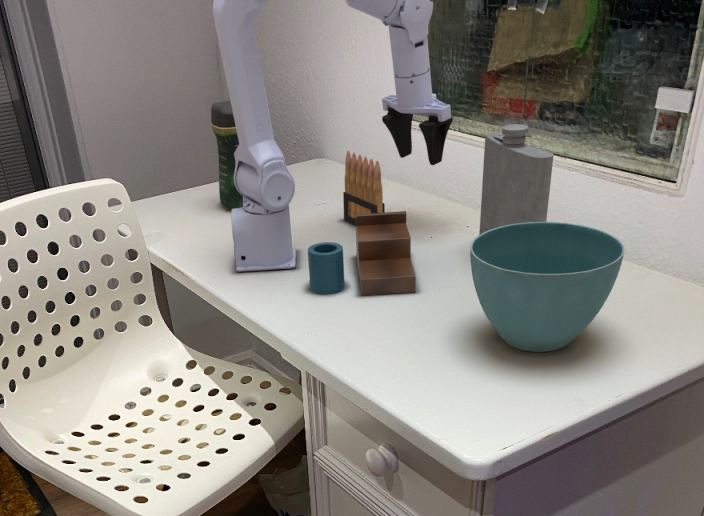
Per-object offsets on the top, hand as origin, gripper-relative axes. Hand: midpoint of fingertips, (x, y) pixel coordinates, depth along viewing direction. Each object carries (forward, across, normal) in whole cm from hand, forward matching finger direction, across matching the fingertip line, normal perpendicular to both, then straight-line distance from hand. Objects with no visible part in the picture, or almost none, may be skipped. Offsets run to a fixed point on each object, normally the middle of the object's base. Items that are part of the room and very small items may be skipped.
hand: (420, 159), depth 138 cm
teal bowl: (+9, -44, +21) cm, 50 cm away
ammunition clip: (+10, +6, +10) cm, 15 cm away
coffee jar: (+8, +32, +18) cm, 37 cm away
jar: (+7, -11, +30) cm, 33 cm away
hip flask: (+11, -24, +5) cm, 26 cm away
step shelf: (+8, -14, +21) cm, 26 cm away
